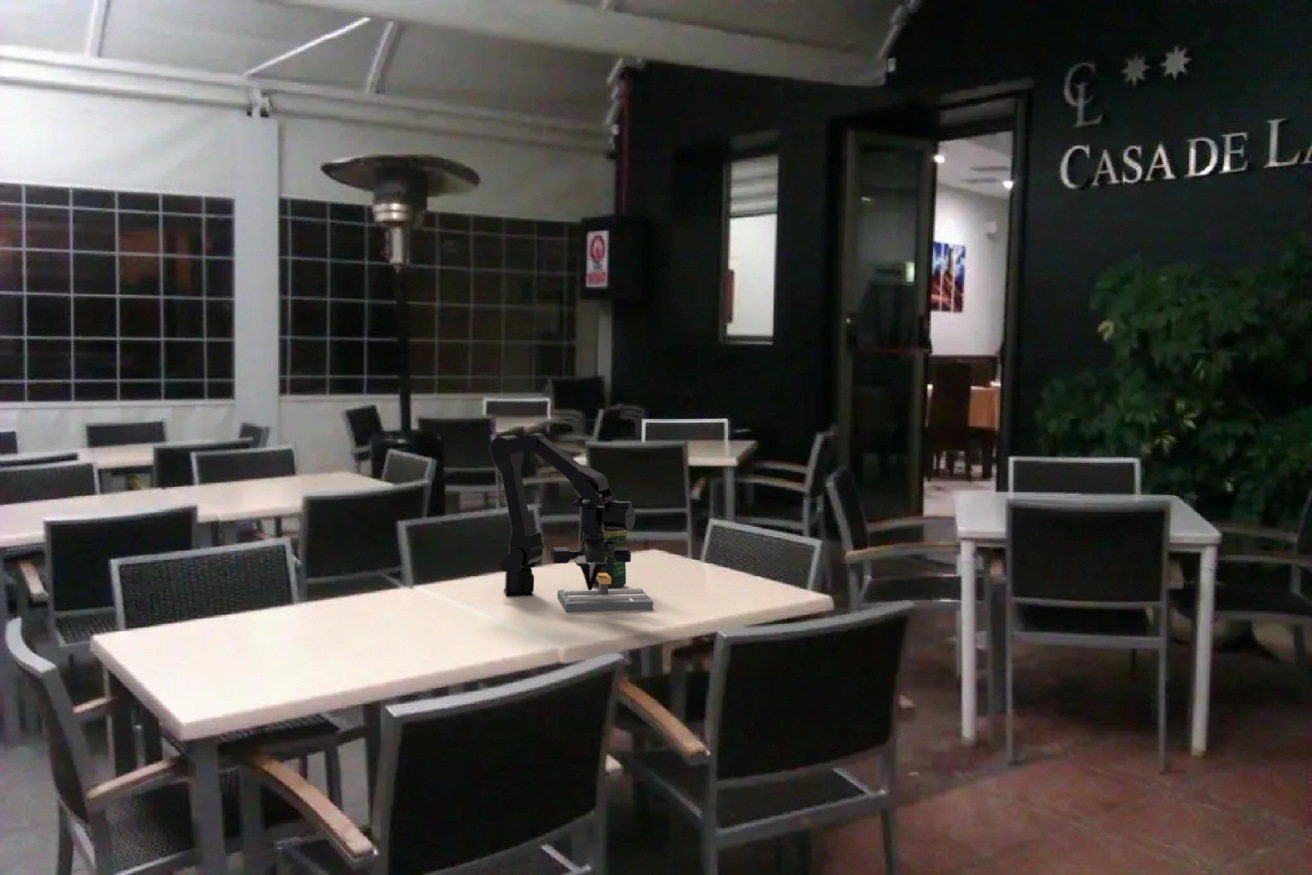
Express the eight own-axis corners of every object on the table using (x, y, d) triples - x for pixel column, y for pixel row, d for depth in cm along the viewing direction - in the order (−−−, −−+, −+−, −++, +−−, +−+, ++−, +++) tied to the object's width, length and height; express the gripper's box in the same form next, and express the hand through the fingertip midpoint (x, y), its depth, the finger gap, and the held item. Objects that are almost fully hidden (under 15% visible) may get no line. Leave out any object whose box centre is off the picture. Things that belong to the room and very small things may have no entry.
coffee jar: (631, 586, 291) (633, 515, 289) (608, 590, 285) (611, 518, 283) (605, 579, 298) (607, 510, 296) (583, 583, 292) (585, 513, 290)
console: (566, 612, 263) (566, 600, 263) (557, 598, 276) (557, 587, 276) (652, 609, 269) (653, 598, 268) (640, 596, 281) (640, 585, 281)
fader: (599, 598, 269) (600, 578, 268) (595, 592, 274) (596, 573, 274) (610, 598, 270) (611, 578, 269) (605, 592, 275) (606, 572, 274)
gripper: (558, 532, 259) (556, 599, 261) (637, 532, 264) (634, 597, 265) (551, 523, 270) (549, 587, 272) (627, 523, 274) (624, 586, 276)
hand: (589, 589), depth 271 cm, fingers closed
